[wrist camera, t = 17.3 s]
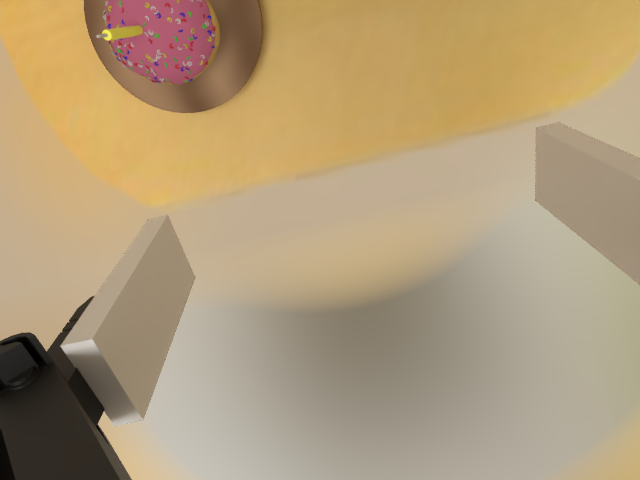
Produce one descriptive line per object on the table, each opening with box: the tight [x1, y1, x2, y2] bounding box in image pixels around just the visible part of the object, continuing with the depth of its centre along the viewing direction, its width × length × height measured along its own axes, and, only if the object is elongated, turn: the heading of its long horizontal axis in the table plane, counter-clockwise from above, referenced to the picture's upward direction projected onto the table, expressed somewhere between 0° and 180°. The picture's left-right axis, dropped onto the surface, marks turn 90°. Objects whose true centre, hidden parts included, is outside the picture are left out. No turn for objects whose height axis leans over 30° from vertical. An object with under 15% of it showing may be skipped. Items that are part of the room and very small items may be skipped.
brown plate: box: [84, 0, 262, 113], centre depth 39 cm, size 15×15×3 cm
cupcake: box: [96, 0, 220, 85], centre depth 33 cm, size 9×8×12 cm
